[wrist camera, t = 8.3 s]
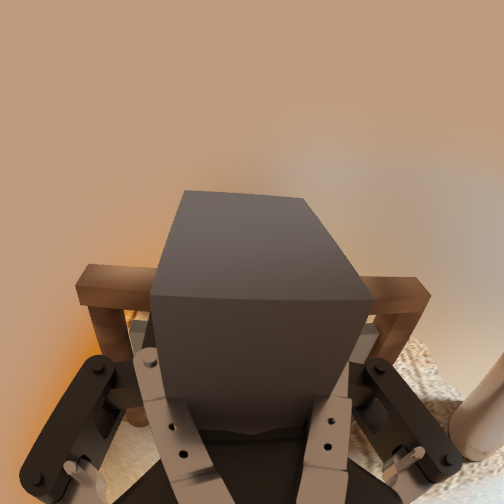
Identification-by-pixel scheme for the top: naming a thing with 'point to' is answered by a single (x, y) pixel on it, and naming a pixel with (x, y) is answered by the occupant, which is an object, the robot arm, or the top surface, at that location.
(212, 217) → the block
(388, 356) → the door frame
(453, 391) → the top surface
